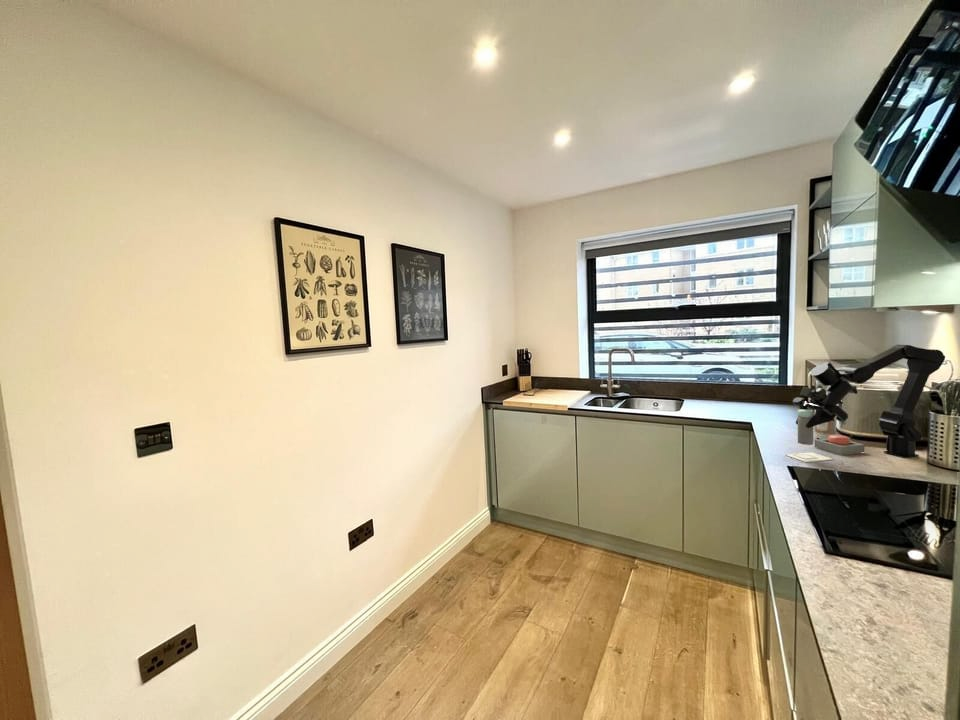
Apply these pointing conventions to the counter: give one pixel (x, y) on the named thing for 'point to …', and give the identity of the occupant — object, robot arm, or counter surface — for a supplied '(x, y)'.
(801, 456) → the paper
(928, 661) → the counter surface
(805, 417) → the grey green-topped canister
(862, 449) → the button box
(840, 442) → the button
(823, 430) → the bath foam
